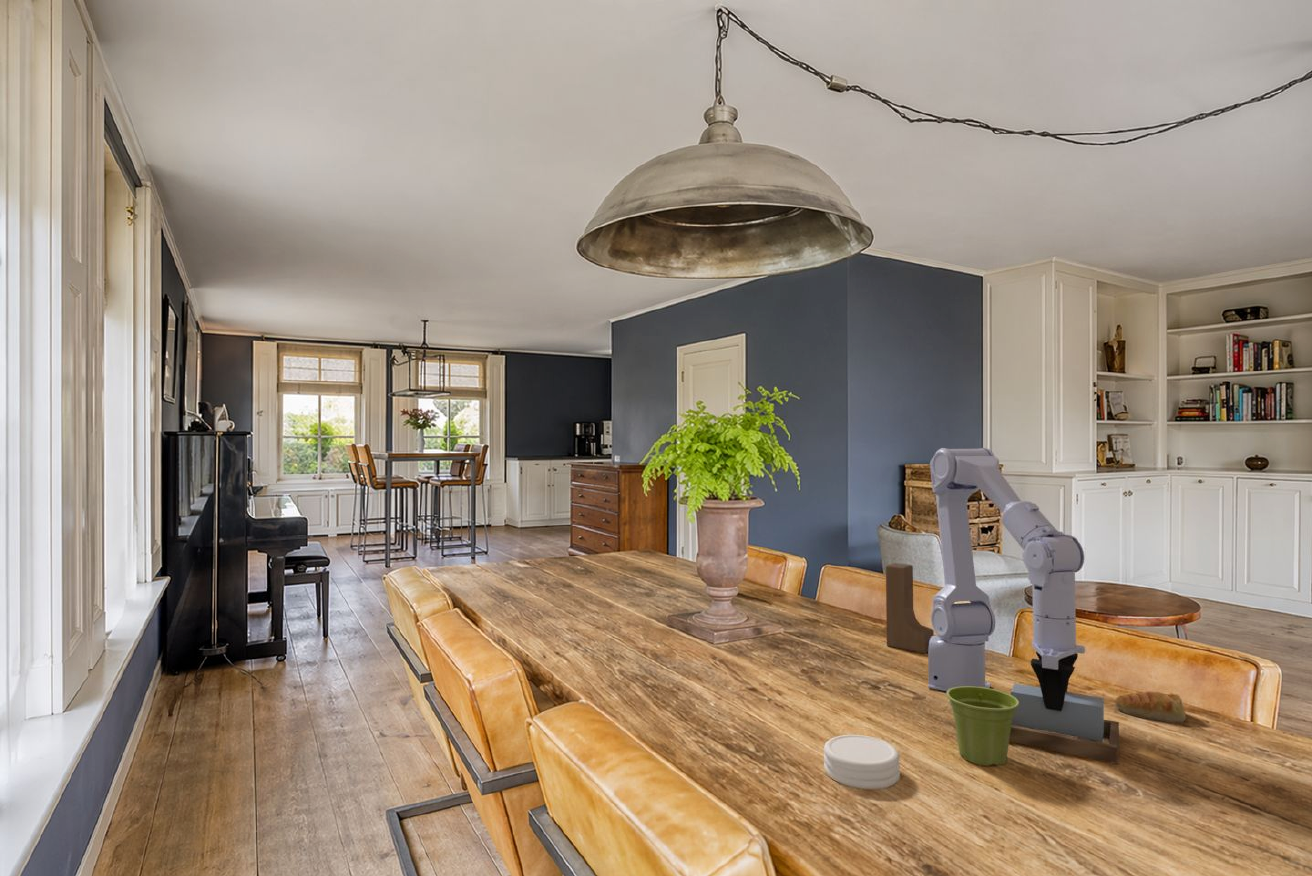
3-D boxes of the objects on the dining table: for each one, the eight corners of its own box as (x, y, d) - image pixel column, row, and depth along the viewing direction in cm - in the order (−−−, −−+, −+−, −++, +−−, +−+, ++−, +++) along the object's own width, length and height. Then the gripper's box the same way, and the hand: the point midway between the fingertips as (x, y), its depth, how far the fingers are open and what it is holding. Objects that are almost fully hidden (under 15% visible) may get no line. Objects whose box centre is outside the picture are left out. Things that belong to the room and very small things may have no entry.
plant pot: (958, 738, 107) (957, 681, 107) (1026, 755, 101) (1025, 694, 101) (938, 760, 100) (937, 698, 100) (1010, 779, 94) (1009, 714, 94)
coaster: (809, 774, 97) (809, 748, 97) (847, 751, 104) (847, 727, 104) (877, 799, 89) (876, 772, 89) (913, 773, 96) (912, 748, 96)
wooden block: (934, 650, 153) (933, 567, 154) (925, 654, 150) (924, 570, 150) (895, 642, 160) (894, 562, 160) (885, 646, 157) (884, 565, 157)
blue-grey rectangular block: (1011, 724, 109) (1010, 691, 109) (1015, 714, 113) (1014, 683, 113) (1102, 742, 102) (1102, 707, 102) (1103, 731, 106) (1103, 698, 106)
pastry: (1120, 718, 115) (1120, 694, 115) (1110, 704, 122) (1109, 682, 122) (1189, 725, 112) (1189, 701, 112) (1175, 711, 118) (1174, 688, 118)
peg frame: (992, 737, 107) (991, 723, 107) (1003, 714, 116) (1003, 701, 116) (1117, 763, 98) (1117, 748, 98) (1119, 736, 107) (1118, 722, 107)
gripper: (1081, 628, 99) (1083, 725, 99) (1087, 609, 111) (1088, 695, 111) (1025, 622, 103) (1026, 715, 103) (1036, 603, 115) (1038, 687, 115)
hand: (1055, 704), depth 107 cm, fingers closed on blue-grey rectangular block, 4 cm apart
